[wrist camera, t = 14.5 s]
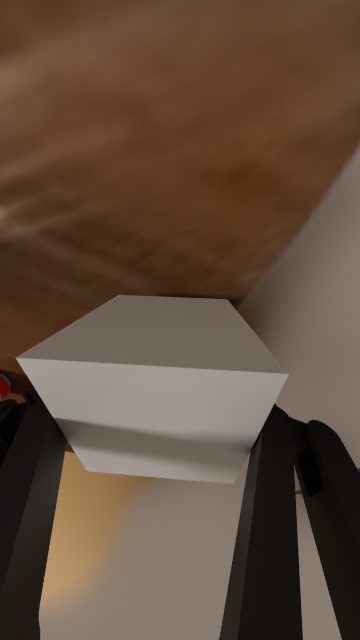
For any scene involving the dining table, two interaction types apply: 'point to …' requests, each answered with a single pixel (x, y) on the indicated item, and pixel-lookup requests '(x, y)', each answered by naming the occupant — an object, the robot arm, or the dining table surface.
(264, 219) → the dining table surface
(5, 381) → the beer can
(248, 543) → the robot arm
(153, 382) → the white cube
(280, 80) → the dining table surface
